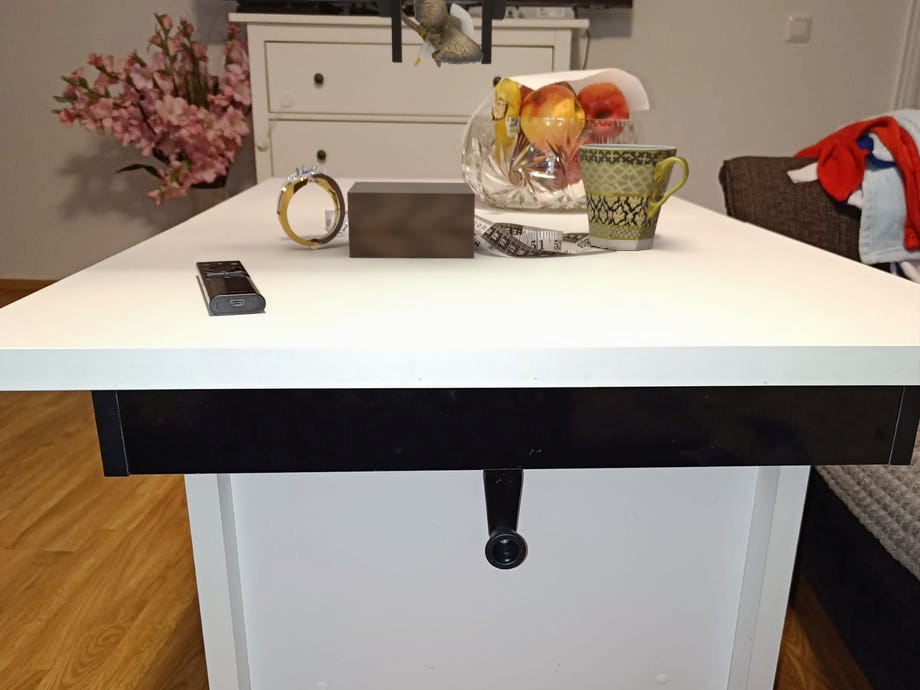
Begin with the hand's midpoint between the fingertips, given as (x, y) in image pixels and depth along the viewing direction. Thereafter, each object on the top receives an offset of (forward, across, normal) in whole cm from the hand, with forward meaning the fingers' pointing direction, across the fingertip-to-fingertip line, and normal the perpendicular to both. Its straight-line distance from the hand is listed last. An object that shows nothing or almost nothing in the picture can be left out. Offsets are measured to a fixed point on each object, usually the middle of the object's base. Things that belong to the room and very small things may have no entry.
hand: (441, 62), depth 79 cm
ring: (+17, -13, +10) cm, 24 cm away
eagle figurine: (+1, 0, 0) cm, 1 cm away
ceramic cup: (+17, +20, +13) cm, 29 cm away
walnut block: (+17, -3, +11) cm, 20 cm away
